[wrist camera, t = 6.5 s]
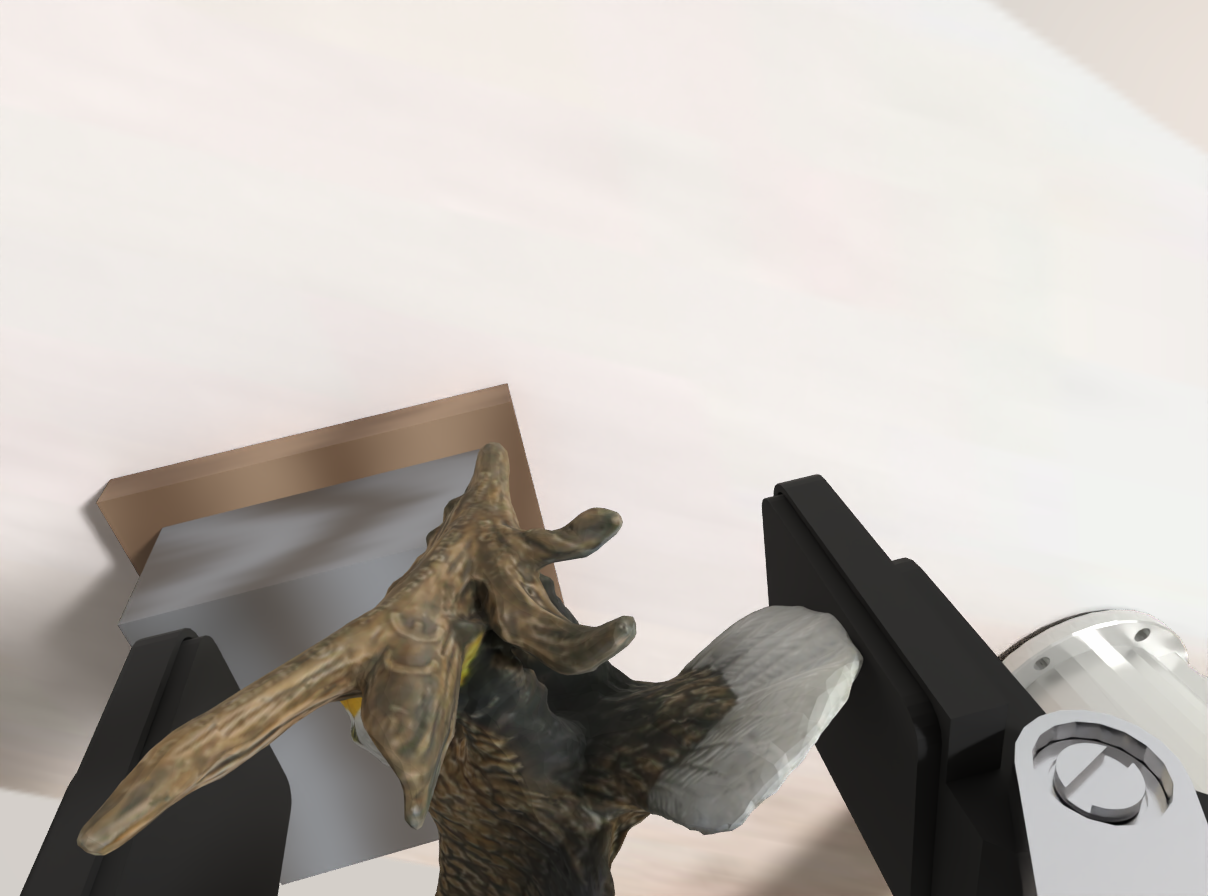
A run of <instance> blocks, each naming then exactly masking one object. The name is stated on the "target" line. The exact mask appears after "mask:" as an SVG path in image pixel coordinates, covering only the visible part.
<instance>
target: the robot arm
mask: <svg viewBox="0 0 1208 896" xmlns="http://www.w3.org/2000/svg"><path fill="white" fill-rule="evenodd" d="M762 516H763V530H764V543H765V557H766V571H767V584H768V598H769V606H791V607H793V606H802V607H805V608H807V609H810V610H813V611H817V612H823V613H829V614H831V615H833V616H834V617H835V618H836V619H837V620H838V621H839V622H840V623H841V625H842V626H843V627H844V629H845V630H846V632H847V633H848V635H849V637H850V639H851V641H852V643H853V644H854V645H855V647H856V648H857V649H858V650H859V651H860V653H861V655H862V657H863V663H862V666H861V669H860V671H859V673H858V676H857V678H856V679H855V680H854V681H853V683H852V686H851V690H850V694H849V697H848V699H847V701H846V703H845V704H844V705H843V707H842V708H841V709H840V711H839V712H838V713H837V714H836V716H835V717H834V718H833V719H832V720H831V722H830V723H829V725H828V726H827V727H826V728H825V730H824V731H823V732H822V733H821V735H820V737H819V738H818V740H817V742H816V743H815V746H816V748H817V750H818V751H819V753H820V755H821V757H822V759H823V761H824V763H825V765H826V767H827V769H828V771H829V773H830V775H831V777H832V778H833V780H834V782H835V784H836V786H837V788H838V790H839V792H840V794H841V796H842V798H843V800H844V802H845V803H846V805H847V807H848V809H849V811H850V813H851V815H852V817H853V819H854V821H855V823H856V825H857V827H858V829H859V830H860V832H861V834H862V836H863V838H864V840H865V842H866V844H867V846H868V848H869V850H870V852H871V854H872V855H873V857H874V859H875V861H876V863H877V865H878V867H879V869H880V871H881V873H882V875H883V877H884V879H885V881H886V882H887V884H888V886H889V888H890V890H891V892H892V894H893V896H1208V677H1207V676H1204V675H1201V674H1199V673H1198V672H1197V671H1196V670H1195V669H1194V668H1193V667H1191V666H1190V665H1189V659H1188V654H1187V649H1186V647H1185V645H1184V644H1183V642H1182V640H1181V639H1180V637H1179V636H1178V635H1177V634H1176V633H1174V632H1173V631H1172V630H1171V629H1170V628H1169V627H1168V626H1167V625H1166V624H1164V623H1163V622H1162V621H1160V620H1158V619H1157V618H1155V617H1153V616H1152V615H1150V614H1146V613H1142V612H1139V611H1135V610H1116V609H1115V610H1108V611H1100V612H1093V613H1089V614H1086V615H1082V616H1079V617H1075V618H1072V619H1069V620H1067V621H1065V622H1062V623H1060V624H1058V625H1055V626H1053V627H1051V628H1049V629H1047V630H1045V631H1043V632H1042V633H1040V634H1038V635H1036V636H1035V637H1033V638H1031V639H1030V640H1028V641H1027V642H1025V643H1024V644H1023V645H1021V646H1020V647H1019V648H1017V649H1016V650H1015V651H1013V652H1012V653H1011V654H1009V655H1008V656H1007V657H1006V658H1005V659H1004V660H1003V661H1002V662H1001V660H1000V659H999V658H998V657H997V656H996V655H995V653H994V652H993V651H992V650H991V649H990V648H989V646H988V645H987V644H986V643H985V642H984V641H983V639H982V638H981V637H980V636H979V635H978V634H977V632H976V631H975V630H974V629H973V628H972V627H971V625H970V624H969V623H968V622H967V621H966V620H965V618H964V617H963V616H962V615H961V614H960V613H959V612H958V610H957V609H956V608H955V607H954V606H953V605H952V603H951V602H950V601H949V600H948V599H947V598H946V596H945V595H944V594H943V593H942V592H941V591H940V589H939V588H938V587H937V586H936V585H935V584H934V582H933V581H932V580H931V579H930V578H929V577H928V575H927V574H926V573H925V572H924V571H923V570H922V568H921V567H919V566H918V565H917V564H916V563H915V562H914V561H913V560H911V559H908V558H901V559H897V560H893V561H891V559H890V558H889V557H888V556H887V555H886V553H885V552H884V551H883V550H882V548H881V547H880V546H879V545H878V544H877V542H876V541H875V540H874V539H873V537H872V536H871V535H870V534H869V533H868V531H867V530H866V529H865V528H864V526H863V525H862V524H861V523H860V522H859V520H858V519H857V518H856V517H855V516H854V514H853V513H852V512H851V511H850V509H849V508H848V507H847V506H846V505H845V503H844V502H843V501H842V500H841V498H840V497H839V496H838V495H837V494H836V492H835V491H834V490H833V489H832V487H831V486H830V485H829V484H828V483H827V481H826V480H825V479H824V478H823V477H822V476H821V475H818V474H816V475H812V476H807V477H803V478H799V479H795V480H791V481H787V482H783V483H779V484H777V485H776V486H775V488H774V496H773V497H769V498H765V499H763V502H762ZM238 691H240V688H239V686H238V684H237V682H236V680H235V678H234V676H233V675H232V673H231V671H230V669H229V667H228V665H227V663H226V661H225V659H224V658H223V656H222V654H221V652H220V650H219V648H218V646H217V644H216V643H215V641H214V640H213V638H211V637H210V636H207V635H205V636H201V637H198V635H197V634H196V632H194V631H193V630H192V629H191V628H183V629H179V630H175V631H171V632H167V633H162V634H158V635H154V636H150V637H146V638H142V639H139V640H138V641H136V642H135V643H134V645H133V646H132V648H131V650H130V652H129V655H128V657H127V659H126V662H125V664H124V666H123V668H122V671H121V673H120V675H119V678H118V680H117V682H116V684H115V687H114V689H113V691H112V694H111V696H110V698H109V700H108V703H107V705H106V707H105V710H104V712H103V714H102V716H101V719H100V721H99V723H98V726H97V728H96V730H95V732H94V735H93V737H92V739H91V742H90V744H89V746H88V748H87V751H86V753H85V755H84V758H83V760H82V762H81V764H80V767H79V769H78V771H77V773H76V774H75V776H74V777H73V779H72V781H71V782H70V784H69V786H68V788H67V790H66V792H65V794H64V797H63V799H62V801H61V803H60V806H59V808H58V811H57V812H56V815H55V817H54V819H53V822H52V824H51V826H50V828H49V831H48V833H47V835H46V837H45V840H44V842H43V844H42V846H41V849H40V851H39V853H38V856H37V858H36V860H35V863H34V865H33V867H32V869H31V872H30V874H29V876H28V878H27V881H26V883H25V885H24V887H23V890H22V892H21V894H20V896H278V889H279V883H280V877H281V871H282V864H283V858H284V852H285V845H286V839H287V833H288V826H289V820H290V813H291V805H292V800H291V790H290V785H289V781H288V779H287V776H286V774H285V773H284V771H283V769H282V767H281V765H280V763H279V761H278V759H277V757H276V756H275V754H274V752H273V750H272V748H271V746H270V744H269V745H268V746H266V747H265V748H263V749H262V750H260V751H259V752H258V753H256V754H255V755H253V756H252V757H251V758H249V759H248V760H246V761H245V762H244V763H242V764H241V765H240V766H238V767H237V768H235V769H234V770H233V771H231V772H230V773H228V774H227V775H225V776H224V777H222V778H221V779H218V780H216V781H214V782H212V783H209V784H207V785H205V786H203V787H200V788H199V789H197V790H195V791H193V792H191V793H190V794H188V795H186V796H185V797H183V798H182V799H180V800H179V801H177V802H176V803H174V804H173V805H171V806H170V807H169V808H168V809H166V810H165V811H164V812H163V813H162V814H160V815H159V816H158V817H157V818H156V819H155V820H153V821H152V822H151V823H150V824H149V825H147V826H146V827H145V828H144V829H143V830H141V831H140V832H139V833H137V834H136V835H135V836H134V837H132V838H131V839H130V840H128V841H127V842H126V843H124V844H123V845H121V846H120V847H119V848H117V849H115V850H113V851H112V852H110V853H108V854H106V855H93V854H90V853H87V852H86V851H84V850H83V849H82V848H81V847H79V846H78V845H77V838H78V836H79V833H80V831H81V829H82V828H83V826H84V825H85V824H86V823H87V822H88V821H89V819H90V818H91V817H92V816H93V815H94V814H95V813H96V812H97V811H98V810H99V809H100V808H101V806H102V805H103V804H104V803H105V802H106V800H107V799H108V798H109V797H110V796H111V794H112V793H113V792H114V791H115V789H116V788H117V787H118V786H119V784H120V783H121V782H122V781H123V780H124V779H125V778H126V777H127V776H128V775H129V773H130V772H131V771H132V770H133V769H134V768H135V767H136V766H137V764H138V763H139V762H140V761H141V760H142V759H143V757H144V756H145V755H146V754H147V753H148V752H149V750H151V749H152V748H153V747H154V746H155V745H157V744H158V743H159V742H160V741H162V740H163V739H164V738H165V737H166V736H167V735H169V734H170V733H171V732H172V731H174V730H175V729H177V728H179V727H180V726H182V725H183V724H185V723H187V722H188V721H190V720H192V719H194V718H196V717H197V716H199V715H201V714H203V713H205V712H207V711H209V710H210V709H212V708H213V707H215V706H216V705H218V704H220V703H221V702H223V701H224V700H226V699H227V698H229V697H231V696H232V695H234V694H235V693H237V692H238Z"/></svg>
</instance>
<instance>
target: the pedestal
mask: <svg viewBox="0 0 1208 896" xmlns="http://www.w3.org/2000/svg"><path fill="white" fill-rule="evenodd" d="M490 442H495V443H500V444H501V445H502V446H503V447H504V449H505V450H506V451H507V453H508V458H509V467H510V473H509V493H510V498H511V504H512V506H513V509H514V511H515V514H516V517H517V520H518V523H519V526H520V528H521V529H522V530H530V529H538V528H541V529H545V528H544V524H543V520H542V516H541V512H540V508H539V504H538V501H537V497H536V493H535V489H534V485H533V481H532V477H531V473H530V469H529V465H528V462H527V458H526V454H525V450H524V446H523V442H522V438H521V434H520V430H519V426H518V423H517V419H516V415H515V411H514V407H513V403H512V399H511V395H510V391H509V388H508V384H503V385H499V386H495V387H490V388H486V389H482V390H478V391H474V392H470V393H466V394H462V395H457V396H453V397H449V398H445V399H441V400H437V401H433V402H429V403H424V404H420V405H416V406H412V407H408V408H404V409H400V410H395V411H391V412H387V413H383V414H379V415H375V416H371V417H367V418H362V419H358V420H354V421H350V422H346V423H342V424H338V425H334V426H329V427H325V428H321V429H317V430H313V431H309V432H305V433H301V434H296V435H292V436H288V437H284V438H280V439H276V440H272V441H268V442H263V443H259V444H255V445H251V446H247V447H243V448H239V449H235V450H230V451H226V452H222V453H218V454H214V455H210V456H206V457H202V458H197V459H193V460H189V461H185V462H181V463H177V464H173V465H169V466H164V467H160V468H156V469H152V470H148V471H144V472H140V473H136V474H131V475H127V476H123V477H119V478H115V479H111V480H110V481H109V483H108V484H107V486H106V488H105V489H104V491H103V493H102V494H101V496H100V498H99V499H98V501H97V502H96V503H97V505H98V507H99V508H100V510H101V512H102V514H103V515H104V517H105V519H106V520H107V522H108V524H109V525H110V527H111V529H112V530H113V532H114V534H115V536H116V537H117V539H118V541H119V542H120V544H121V546H122V547H123V549H124V551H125V553H126V554H127V556H128V558H129V559H130V561H131V563H132V564H133V566H134V568H135V569H136V571H137V573H138V575H139V576H140V577H139V580H138V582H137V584H136V586H135V588H134V591H133V593H132V595H131V597H130V599H129V601H128V604H127V606H126V608H125V610H124V612H123V614H122V617H121V619H120V621H119V623H118V626H119V628H120V630H121V631H122V633H123V634H124V636H125V637H126V639H127V641H128V642H129V644H130V645H131V647H132V646H133V645H134V643H135V642H136V641H138V640H139V639H142V638H146V637H150V636H154V635H158V634H162V633H167V632H171V631H175V630H179V629H183V628H191V629H192V630H193V631H194V632H196V634H197V635H198V637H201V636H205V635H207V636H210V637H211V638H213V640H214V641H215V643H216V644H217V646H218V648H219V650H220V652H221V654H222V656H223V658H224V659H225V661H226V663H227V665H228V667H229V669H230V671H231V673H232V675H233V676H234V678H235V680H236V682H237V684H238V686H239V688H240V690H242V689H243V688H245V687H246V686H248V685H249V684H251V683H253V682H254V681H256V680H258V679H259V678H261V677H263V676H264V675H266V674H267V673H269V672H271V671H272V670H274V669H276V668H277V667H279V666H281V665H282V664H284V663H285V662H287V661H289V660H290V659H292V658H294V657H295V656H297V655H299V654H300V653H302V652H304V651H305V650H307V649H308V648H310V647H312V646H313V645H315V644H316V643H318V642H320V641H321V640H323V639H324V638H326V637H328V636H329V635H331V634H332V633H334V632H336V631H337V630H339V629H340V628H342V627H343V626H344V625H346V624H347V623H349V622H351V621H352V620H354V619H356V618H358V617H359V616H361V615H363V614H365V613H366V612H368V611H370V610H372V609H373V608H375V607H376V606H377V605H378V604H379V602H380V601H381V600H382V599H383V598H384V597H385V595H386V593H387V590H388V588H389V587H390V586H391V584H392V583H393V582H394V581H396V580H397V579H399V578H400V577H402V576H403V575H404V574H405V573H406V572H407V571H408V570H409V569H410V567H411V566H412V564H413V563H414V561H415V560H416V559H417V557H418V556H420V555H421V554H423V553H424V552H425V551H426V549H427V543H426V536H427V535H428V533H429V532H430V531H432V530H433V529H435V528H437V527H438V526H439V525H441V524H442V523H443V513H444V508H445V506H446V505H447V504H448V502H449V501H450V500H452V499H454V498H457V497H459V496H461V495H463V494H464V493H465V490H466V488H467V486H468V484H469V483H470V481H471V478H472V476H473V474H474V469H475V464H476V460H477V455H478V452H479V451H480V449H481V448H482V447H483V446H484V445H486V444H488V443H490ZM540 573H541V574H543V575H545V576H548V577H550V578H551V579H552V580H553V581H554V586H555V592H556V595H557V596H558V597H559V598H560V599H561V601H562V602H563V598H562V594H561V590H560V586H559V582H558V578H557V575H556V571H555V567H554V563H551V564H549V565H547V566H545V567H544V568H542V569H541V570H540ZM563 604H564V602H563ZM270 746H271V748H272V750H273V752H274V754H275V756H276V757H277V759H278V761H279V763H280V765H281V767H282V769H283V771H284V773H285V774H286V776H287V779H288V781H289V785H290V790H291V800H292V805H291V813H290V820H289V826H288V833H287V839H286V845H285V852H284V858H283V864H282V871H281V877H280V882H281V884H282V885H283V884H287V883H290V882H293V881H297V880H300V879H304V878H308V877H311V876H315V875H318V874H321V873H325V872H328V871H331V870H336V869H339V868H342V867H346V866H349V865H353V864H356V863H359V862H363V861H367V860H370V859H374V858H377V857H381V856H384V855H388V854H391V853H395V852H398V851H402V850H405V849H408V848H412V847H415V846H419V845H422V844H426V843H429V842H433V841H436V840H439V834H438V829H437V826H436V824H435V822H434V820H433V818H432V816H431V815H430V813H429V811H428V812H427V815H426V817H425V820H424V822H423V825H422V827H421V828H419V829H418V830H417V829H413V828H411V827H410V826H409V825H408V823H407V822H406V821H405V819H404V793H403V789H402V786H401V783H400V780H399V778H398V777H397V775H396V774H395V773H394V771H393V770H392V768H391V767H390V766H388V765H386V764H383V763H382V762H381V761H380V760H379V759H378V758H377V757H376V756H374V755H373V754H372V753H370V752H369V751H367V750H366V749H364V748H362V747H360V746H359V745H358V744H356V743H355V742H354V741H353V739H352V738H351V719H350V716H349V714H348V712H347V711H346V709H345V707H344V706H343V704H342V703H341V702H340V701H336V702H330V703H328V704H326V705H324V706H321V707H319V708H318V709H316V710H315V711H313V712H312V713H310V714H309V715H307V716H306V717H304V718H303V719H301V720H300V721H298V722H297V723H295V724H294V725H292V726H291V727H290V728H289V729H287V730H286V731H285V732H284V733H283V734H282V735H280V736H279V737H278V738H277V739H276V740H274V741H273V742H272V743H271V744H270Z"/></svg>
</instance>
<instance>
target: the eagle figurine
mask: <svg viewBox="0 0 1208 896" xmlns="http://www.w3.org/2000/svg"><path fill="white" fill-rule="evenodd" d="M509 473H510V467H509V458H508V453H507V451H506V450H505V449H504V447H503V446H502V445H501V444H500V443H495V442H490V443H488V444H486V445H484V446H483V447H482V448H481V449H480V451H479V452H478V455H477V460H476V464H475V469H474V474H473V476H472V478H471V481H470V483H469V484H468V486H467V488H466V490H465V493H464V494H463V495H461V496H459V497H457V498H454V499H452V500H450V501H449V502H448V504H447V505H446V506H445V508H444V513H443V523H442V524H441V525H439V526H438V527H437V528H435V529H433V530H432V531H430V532H429V533H428V535H427V536H426V543H427V549H426V551H425V552H424V553H423V554H421V555H420V556H418V557H417V559H416V560H415V561H414V563H413V564H412V566H411V567H410V569H409V570H408V571H407V572H406V573H405V574H404V575H403V576H402V577H400V578H399V579H397V580H396V581H394V582H393V583H392V584H391V586H390V587H389V588H388V590H387V593H386V595H385V597H384V598H383V599H382V600H381V601H380V602H379V604H378V605H377V606H376V607H375V608H373V609H372V610H370V611H368V612H366V613H365V614H363V615H361V616H359V617H358V618H356V619H354V620H352V621H351V622H349V623H347V624H346V625H344V626H343V627H342V628H340V629H339V630H337V631H336V632H334V633H332V634H331V635H329V636H328V637H326V638H324V639H323V640H321V641H320V642H318V643H316V644H315V645H313V646H312V647H310V648H308V649H307V650H305V651H304V652H302V653H300V654H299V655H297V656H295V657H294V658H292V659H290V660H289V661H287V662H285V663H284V664H282V665H281V666H279V667H277V668H276V669H274V670H272V671H271V672H269V673H267V674H266V675H264V676H263V677H261V678H259V679H258V680H256V681H254V682H253V683H251V684H249V685H248V686H246V687H245V688H243V689H242V690H240V691H238V692H237V693H235V694H234V695H232V696H231V697H229V698H227V699H226V700H224V701H223V702H221V703H220V704H218V705H216V706H215V707H213V708H212V709H210V710H209V711H207V712H205V713H203V714H201V715H199V716H197V717H196V718H194V719H192V720H190V721H188V722H187V723H185V724H183V725H182V726H180V727H179V728H177V729H175V730H174V731H172V732H171V733H170V734H169V735H167V736H166V737H165V738H164V739H163V740H162V741H160V742H159V743H158V744H157V745H155V746H154V747H153V748H152V749H151V750H149V752H148V753H147V754H146V755H145V756H144V757H143V759H142V760H141V761H140V762H139V763H138V764H137V766H136V767H135V768H134V769H133V770H132V771H131V772H130V773H129V775H128V776H127V777H126V778H125V779H124V780H123V781H122V782H121V783H120V784H119V786H118V787H117V788H116V789H115V791H114V792H113V793H112V794H111V796H110V797H109V798H108V799H107V800H106V802H105V803H104V804H103V805H102V806H101V808H100V809H99V810H98V811H97V812H96V813H95V814H94V815H93V816H92V817H91V818H90V819H89V821H88V822H87V823H86V824H85V825H84V826H83V828H82V829H81V831H80V833H79V836H78V838H77V845H78V846H79V847H81V848H82V849H83V850H84V851H86V852H87V853H90V854H93V855H106V854H108V853H110V852H112V851H113V850H115V849H117V848H119V847H120V846H121V845H123V844H124V843H126V842H127V841H128V840H130V839H131V838H132V837H134V836H135V835H136V834H137V833H139V832H140V831H141V830H143V829H144V828H145V827H146V826H147V825H149V824H150V823H151V822H152V821H153V820H155V819H156V818H157V817H158V816H159V815H160V814H162V813H163V812H164V811H165V810H166V809H168V808H169V807H170V806H171V805H173V804H174V803H176V802H177V801H179V800H180V799H182V798H183V797H185V796H186V795H188V794H190V793H191V792H193V791H195V790H197V789H199V788H200V787H203V786H205V785H207V784H209V783H212V782H214V781H216V780H218V779H221V778H222V777H224V776H225V775H227V774H228V773H230V772H231V771H233V770H234V769H235V768H237V767H238V766H240V765H241V764H242V763H244V762H245V761H246V760H248V759H249V758H251V757H252V756H253V755H255V754H256V753H258V752H259V751H260V750H262V749H263V748H265V747H266V746H268V745H269V744H271V743H272V742H273V741H274V740H276V739H277V738H278V737H279V736H280V735H282V734H283V733H284V732H285V731H286V730H287V729H289V728H290V727H291V726H292V725H294V724H295V723H297V722H298V721H300V720H301V719H303V718H304V717H306V716H307V715H309V714H310V713H312V712H313V711H315V710H316V709H318V708H319V707H321V706H324V705H326V704H328V703H330V702H336V701H340V702H341V703H342V704H343V706H344V707H345V709H346V711H347V712H348V714H349V716H350V719H351V738H352V739H353V741H354V742H355V743H356V744H358V745H359V746H360V747H362V748H364V749H366V750H367V751H369V752H370V753H372V754H373V755H374V756H376V757H377V758H378V759H379V760H380V761H381V762H382V763H383V764H386V765H388V766H390V767H391V768H392V770H393V771H394V773H395V774H396V775H397V777H398V778H399V780H400V783H401V786H402V789H403V793H404V819H405V821H406V822H407V823H408V825H409V826H410V827H411V828H413V829H417V830H418V829H419V828H421V827H422V825H423V822H424V820H425V817H426V815H427V812H428V811H429V813H430V815H431V816H432V818H433V820H434V822H435V824H436V826H437V829H438V834H439V865H440V873H439V880H438V886H437V892H436V894H435V896H615V890H614V883H613V878H612V875H611V872H610V869H611V864H612V862H613V860H614V858H615V857H616V855H617V853H618V852H619V850H620V848H621V846H622V844H623V842H624V839H625V837H626V835H627V832H628V831H629V830H630V829H631V828H632V827H633V826H635V825H637V824H639V823H640V822H642V821H643V820H644V819H645V818H646V817H647V816H648V815H650V814H656V815H659V816H662V817H664V818H666V819H668V820H672V821H673V822H675V823H677V824H680V825H683V826H685V827H687V828H688V829H689V830H696V831H699V832H701V833H702V834H703V835H708V834H715V833H719V832H726V831H732V830H734V829H736V828H737V827H739V826H741V825H742V824H743V823H744V822H745V820H746V819H747V817H748V816H749V815H750V813H751V812H752V811H753V810H754V809H756V808H757V807H758V806H759V805H760V804H761V803H762V802H763V801H764V800H765V799H766V798H768V797H770V796H771V795H773V794H774V793H776V792H777V791H778V789H779V788H780V787H781V785H782V784H783V782H784V781H785V780H786V778H787V777H788V775H789V774H790V773H791V772H792V771H793V770H794V769H795V768H797V767H798V766H799V764H800V763H801V762H802V761H803V760H804V758H805V757H806V755H807V753H808V752H809V750H810V748H811V747H812V746H813V745H814V744H815V743H816V742H817V740H818V738H819V737H820V735H821V733H822V732H823V731H824V730H825V728H826V727H827V726H828V725H829V723H830V722H831V720H832V719H833V718H834V717H835V716H836V714H837V713H838V712H839V711H840V709H841V708H842V707H843V705H844V704H845V703H846V701H847V699H848V697H849V694H850V690H851V686H852V683H853V681H854V680H855V679H856V678H857V676H858V673H859V671H860V669H861V666H862V663H863V657H862V655H861V653H860V651H859V650H858V649H857V648H856V647H855V645H854V644H853V643H852V641H851V639H850V637H849V635H848V633H847V632H846V630H845V629H844V627H843V626H842V625H841V623H840V622H839V621H838V620H837V619H836V618H835V617H834V616H833V615H831V614H829V613H823V612H817V611H813V610H810V609H807V608H805V607H802V606H793V607H791V606H769V607H765V608H763V609H760V610H758V611H755V612H752V613H751V614H749V615H747V616H746V617H744V618H742V619H740V620H739V621H737V622H736V623H734V624H733V625H732V626H730V627H729V628H728V629H727V630H725V631H724V632H723V633H722V634H720V635H719V636H718V637H717V638H716V639H714V640H713V641H712V642H711V643H710V644H709V645H708V646H707V647H706V648H705V649H704V650H702V651H701V652H700V653H699V654H698V655H697V656H696V657H695V658H694V659H693V660H692V661H690V662H689V663H688V664H687V665H686V666H685V667H684V669H683V670H682V671H681V672H680V673H679V675H678V676H676V677H675V678H673V679H671V680H669V681H665V682H658V683H653V682H643V681H635V680H632V679H630V678H629V677H627V676H626V675H625V674H624V673H622V672H621V671H620V670H618V669H617V668H615V667H614V666H612V665H611V664H610V662H609V661H608V660H609V659H610V658H612V657H613V656H615V655H616V654H618V653H619V652H620V651H622V650H623V649H624V648H625V647H627V646H628V645H629V644H630V643H631V641H632V640H633V639H634V638H635V635H636V623H635V620H634V618H633V617H631V616H621V617H619V618H617V619H614V620H612V621H610V622H607V623H605V624H603V625H601V626H598V627H590V626H585V625H579V623H578V621H577V620H576V619H575V617H574V616H573V615H572V614H571V612H570V611H569V610H568V609H567V608H566V607H565V606H564V604H563V602H562V601H561V599H560V598H559V597H558V596H557V595H556V592H555V586H554V581H553V580H552V579H551V578H550V577H548V576H545V575H543V574H541V573H540V570H541V569H542V568H544V567H545V566H547V565H549V564H551V563H554V562H560V561H566V560H572V559H578V558H584V557H587V556H589V555H590V554H592V553H594V552H595V551H597V550H598V549H599V548H600V547H601V546H602V545H604V544H605V543H606V542H607V541H609V540H610V539H611V538H612V537H613V536H615V535H616V534H617V532H618V531H619V530H620V528H621V526H622V523H623V521H622V518H621V516H620V515H619V514H618V513H617V512H615V511H612V510H608V509H605V508H591V509H588V510H586V511H584V512H582V513H581V514H579V515H578V516H577V517H576V518H575V519H573V520H572V521H571V522H570V523H569V524H568V525H566V526H565V527H563V528H561V529H557V530H553V531H550V530H545V529H541V528H538V529H530V530H522V529H521V528H520V526H519V523H518V520H517V517H516V514H515V511H514V509H513V506H512V504H511V498H510V493H509Z"/></svg>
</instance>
